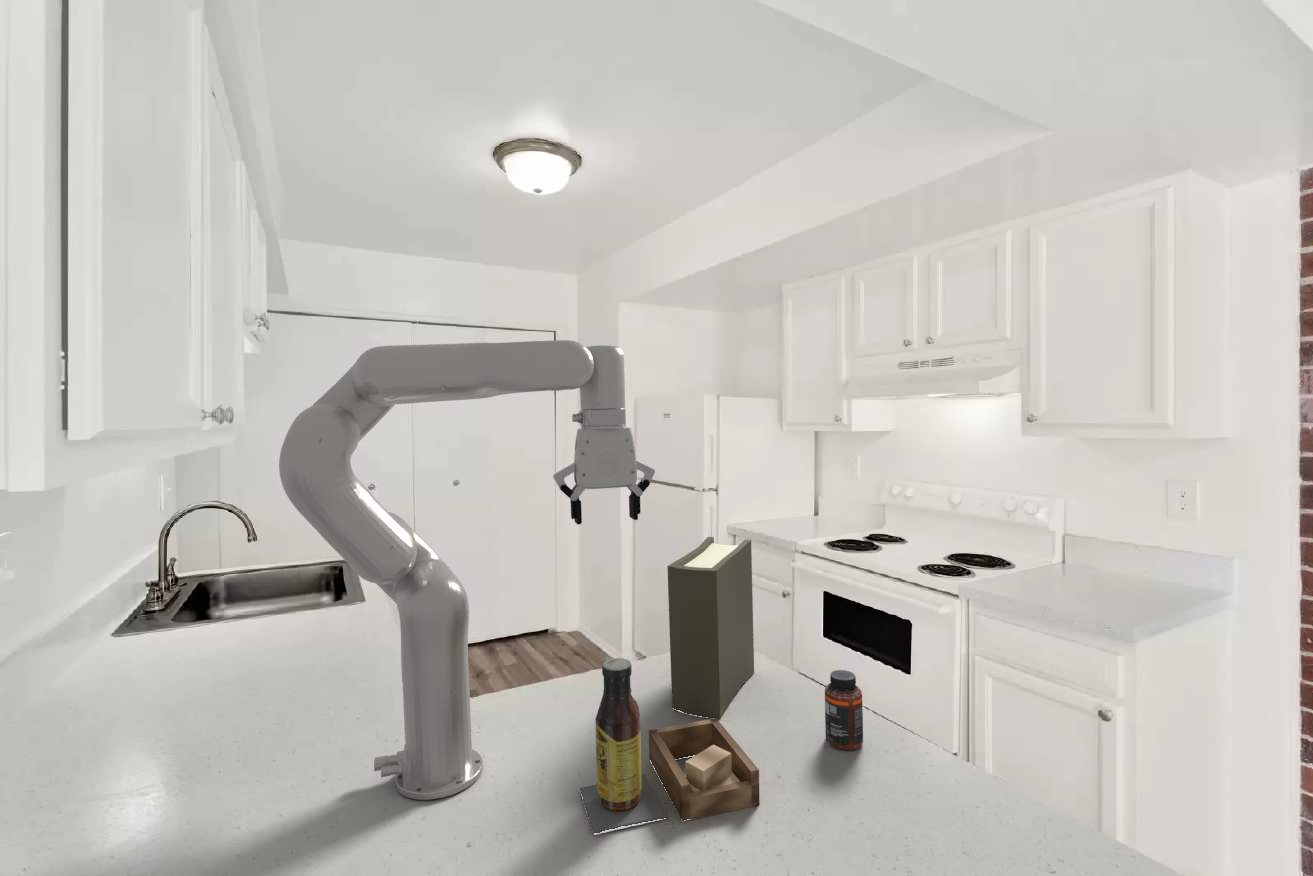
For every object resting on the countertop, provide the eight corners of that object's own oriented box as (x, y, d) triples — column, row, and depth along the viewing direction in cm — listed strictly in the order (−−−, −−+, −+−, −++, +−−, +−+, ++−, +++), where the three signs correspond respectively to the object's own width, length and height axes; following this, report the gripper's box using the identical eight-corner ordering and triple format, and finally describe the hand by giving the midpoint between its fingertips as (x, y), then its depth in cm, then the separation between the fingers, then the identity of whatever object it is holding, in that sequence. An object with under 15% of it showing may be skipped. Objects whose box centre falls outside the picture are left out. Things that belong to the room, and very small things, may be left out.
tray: (682, 822, 85) (681, 786, 85) (649, 761, 100) (648, 730, 100) (759, 804, 89) (759, 769, 88) (716, 748, 103) (716, 718, 103)
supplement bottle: (863, 735, 106) (863, 669, 106) (862, 754, 101) (862, 684, 100) (826, 730, 108) (825, 665, 108) (823, 748, 103) (823, 680, 102)
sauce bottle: (597, 788, 92) (593, 654, 91) (640, 785, 93) (637, 651, 92) (597, 817, 86) (593, 673, 85) (644, 813, 86) (640, 670, 85)
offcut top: (703, 792, 87) (703, 771, 87) (685, 782, 90) (685, 761, 90) (731, 773, 92) (731, 753, 91) (713, 764, 94) (713, 744, 94)
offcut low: (695, 814, 87) (694, 793, 87) (683, 797, 91) (683, 777, 91) (740, 802, 90) (740, 781, 90) (727, 786, 94) (727, 766, 93)
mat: (593, 836, 83) (593, 831, 83) (579, 791, 93) (579, 787, 93) (666, 819, 86) (666, 815, 86) (645, 778, 96) (645, 774, 95)
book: (719, 724, 112) (714, 568, 110) (670, 714, 116) (665, 563, 114) (754, 673, 132) (751, 539, 129) (711, 666, 136) (708, 536, 133)
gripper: (554, 422, 101) (558, 529, 102) (659, 418, 106) (661, 520, 107) (548, 421, 108) (552, 521, 109) (646, 418, 113) (649, 513, 114)
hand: (606, 520), depth 108 cm, fingers open, 9 cm apart
